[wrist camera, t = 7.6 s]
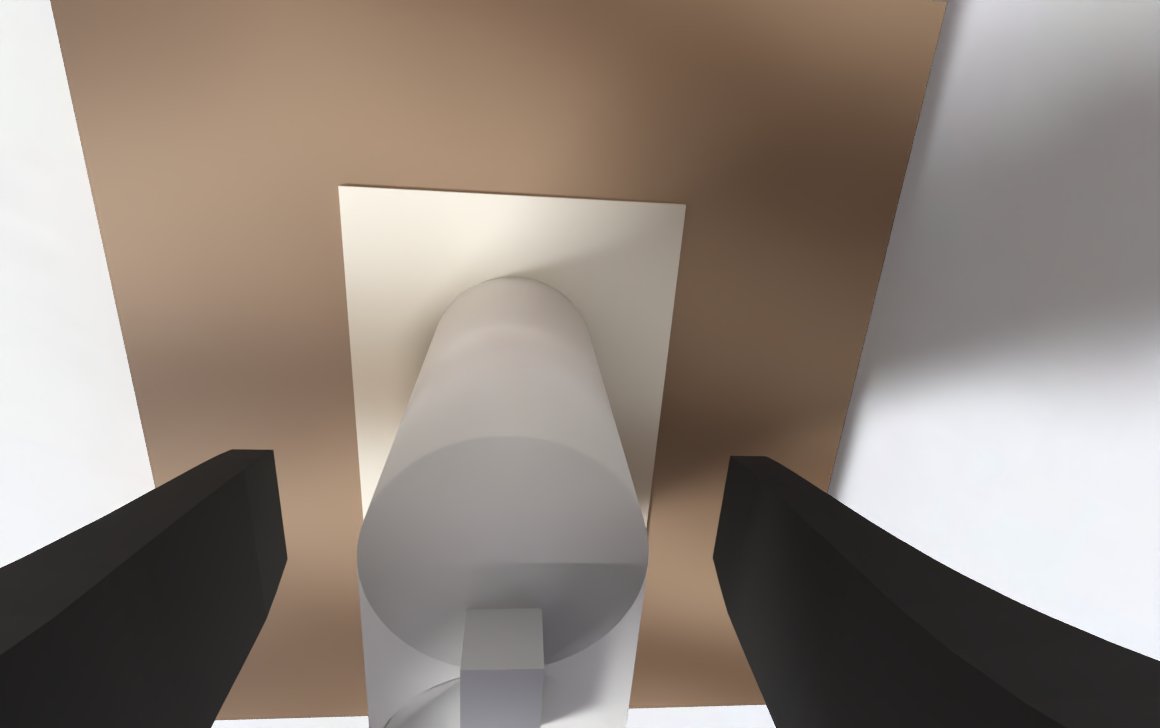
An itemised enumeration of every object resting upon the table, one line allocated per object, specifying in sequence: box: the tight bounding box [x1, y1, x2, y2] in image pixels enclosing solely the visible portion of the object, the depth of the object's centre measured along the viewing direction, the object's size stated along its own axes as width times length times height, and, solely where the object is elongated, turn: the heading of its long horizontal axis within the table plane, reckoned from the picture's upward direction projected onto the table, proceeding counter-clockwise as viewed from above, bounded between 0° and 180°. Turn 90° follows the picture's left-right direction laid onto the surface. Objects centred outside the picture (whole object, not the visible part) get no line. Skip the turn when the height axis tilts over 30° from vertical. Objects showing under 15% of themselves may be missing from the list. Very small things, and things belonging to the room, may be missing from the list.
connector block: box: [357, 277, 649, 728], centre depth 10 cm, size 6×3×7 cm, turn 176°
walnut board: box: [50, 0, 947, 720], centre depth 13 cm, size 16×14×1 cm
